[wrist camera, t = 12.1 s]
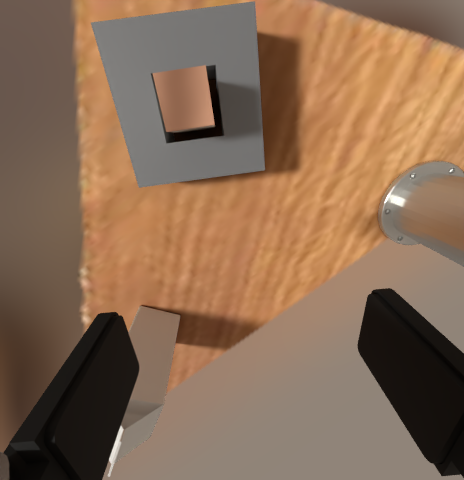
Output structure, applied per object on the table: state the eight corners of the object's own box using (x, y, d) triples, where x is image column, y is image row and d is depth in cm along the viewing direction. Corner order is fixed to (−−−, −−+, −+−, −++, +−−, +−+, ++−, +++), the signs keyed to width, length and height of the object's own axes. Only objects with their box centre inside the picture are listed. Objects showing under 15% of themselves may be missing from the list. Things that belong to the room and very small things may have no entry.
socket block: (246, 29, 25) (254, 1, 20) (256, 163, 31) (265, 170, 26) (117, 46, 25) (90, 22, 20) (152, 178, 31) (138, 187, 26)
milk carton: (181, 314, 41) (156, 446, 24) (170, 342, 43) (141, 479, 26) (140, 304, 39) (81, 437, 22) (131, 334, 42) (73, 473, 25)
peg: (209, 90, 27) (205, 65, 17) (214, 127, 29) (214, 124, 19) (175, 95, 27) (152, 73, 17) (183, 132, 29) (166, 131, 19)
